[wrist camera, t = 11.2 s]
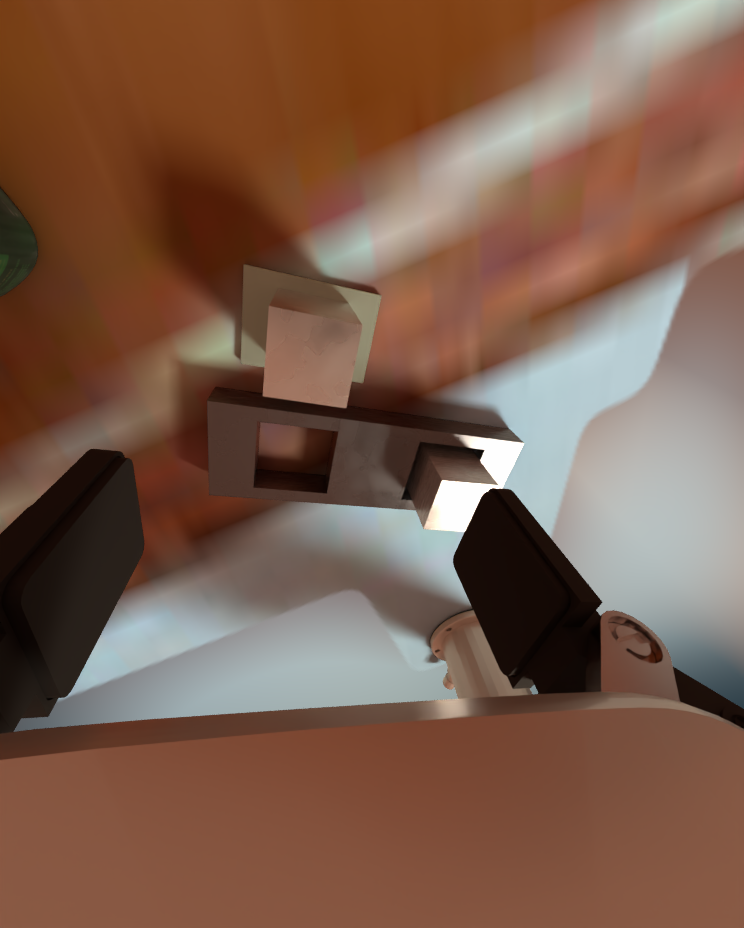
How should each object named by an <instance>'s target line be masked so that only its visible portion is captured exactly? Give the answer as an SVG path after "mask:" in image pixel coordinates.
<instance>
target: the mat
mask: <svg viewBox="0 0 744 928" xmlns="http://www.w3.org/2000/svg"><path fill="white" fill-rule="evenodd" d="M278 288H282V289H287V290H291V291H296V292H301V293H305V294H310V295H314V296H319V297H323V298H328V299H332V300H337V301H341V302H346V303H349V304H350V306H351V307H352V309H353V311H354V312H355V314H356V315H357V317H358V318H359V320H360V322H361V323H362V325H363V327H362V332H361V337H360V342H359V347H358V352H357V357H356V362H355V367H354V372H353V377H352V382H359V383H363V381H364V376H365V372H366V367H367V362H368V358H369V353H370V348H371V343H372V339H373V334H374V329H375V324H376V320H377V315H378V310H379V305H380V301H381V295H379V294H375V293H370V292H366V291H361V290H357V289H353V288H348V287H344V286H339V285H335V284H331V283H326V282H322V281H317V280H313V279H308V278H304V277H300V276H295V275H291V274H286V273H282V272H277V271H273V270H269V269H264V268H260V267H255V266H251V265H247V264H244V267H243V302H242V337H241V364H247V365H253V366H259V367H265V355H266V341H267V326H268V311H269V305H270V303H271V301H272V299H273V297H274V295H275V293H276V292H277V290H278Z"/></svg>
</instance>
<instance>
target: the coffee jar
mask: <svg viewBox="0 0 744 928" xmlns="http://www.w3.org/2000/svg"><path fill="white" fill-rule="evenodd" d="M37 257H38V246H37V241H36V238H35V235H34V232H33V230H32V228H31V226H30V225H29V223H28V221H27V220H26V219H25V217H24V216H23V215H22V213H21V212H20V211H19V210H18V208H17V207H16V206H15V204H14V203H13V202H12V201H11V200H10V198H9V197H8V196H7V195H6V194H5V193H4V191H3V190H2V189H1V188H0V296H2V295H4V294H6V293H7V292H9V291H10V290H12V289H13V288H15V287H16V286H18V285H19V284H20V283H21V282H22V281H23V280H24V279H25V278H26V277H27V276H28V275H29V273H30V272H31V271H32V269H33V268H34V266H35V264H36V261H37Z"/></svg>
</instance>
